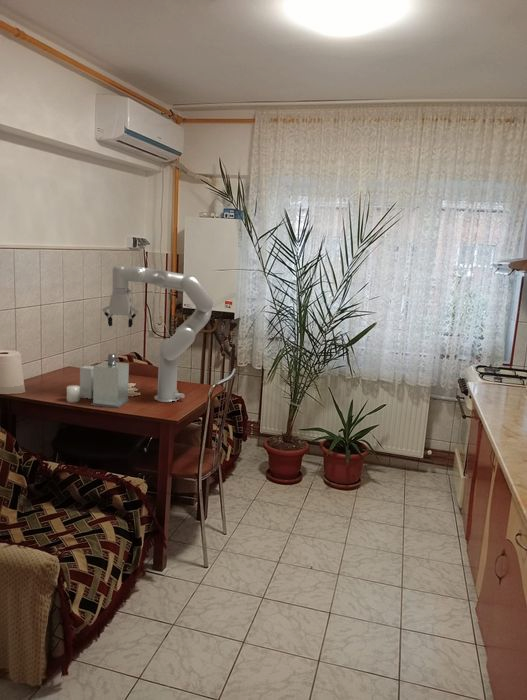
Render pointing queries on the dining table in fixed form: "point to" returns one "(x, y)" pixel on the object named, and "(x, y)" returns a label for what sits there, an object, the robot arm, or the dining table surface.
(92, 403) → the mat
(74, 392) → the white round cylinder
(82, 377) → the skincare box
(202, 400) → the dining table surface
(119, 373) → the beige box
